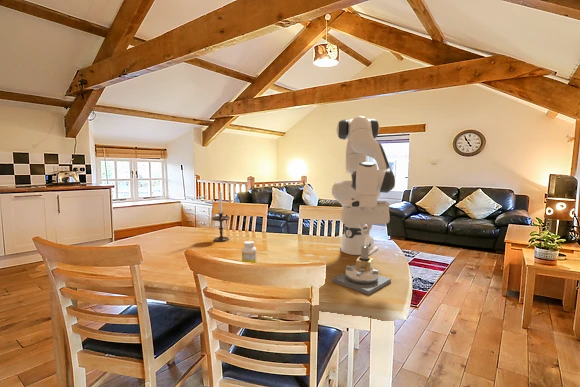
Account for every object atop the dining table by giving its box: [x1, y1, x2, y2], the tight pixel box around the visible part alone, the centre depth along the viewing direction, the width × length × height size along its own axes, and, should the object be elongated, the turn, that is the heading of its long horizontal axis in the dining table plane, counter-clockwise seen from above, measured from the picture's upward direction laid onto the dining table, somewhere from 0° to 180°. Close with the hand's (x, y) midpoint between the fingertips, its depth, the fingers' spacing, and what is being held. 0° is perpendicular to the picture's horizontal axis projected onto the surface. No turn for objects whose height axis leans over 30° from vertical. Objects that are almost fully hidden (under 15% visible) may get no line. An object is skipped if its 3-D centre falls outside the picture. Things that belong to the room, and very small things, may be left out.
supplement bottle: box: [241, 240, 258, 264], centre depth 138 cm, size 7×7×13 cm
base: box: [331, 272, 392, 296], centre depth 124 cm, size 17×17×4 cm
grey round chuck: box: [345, 255, 380, 284], centre depth 124 cm, size 14×13×6 cm
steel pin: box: [360, 246, 369, 261], centre depth 127 cm, size 3×3×9 cm
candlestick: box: [211, 185, 231, 243], centre depth 188 cm, size 11×11×35 cm
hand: (365, 234), depth 126 cm, fingers closed
